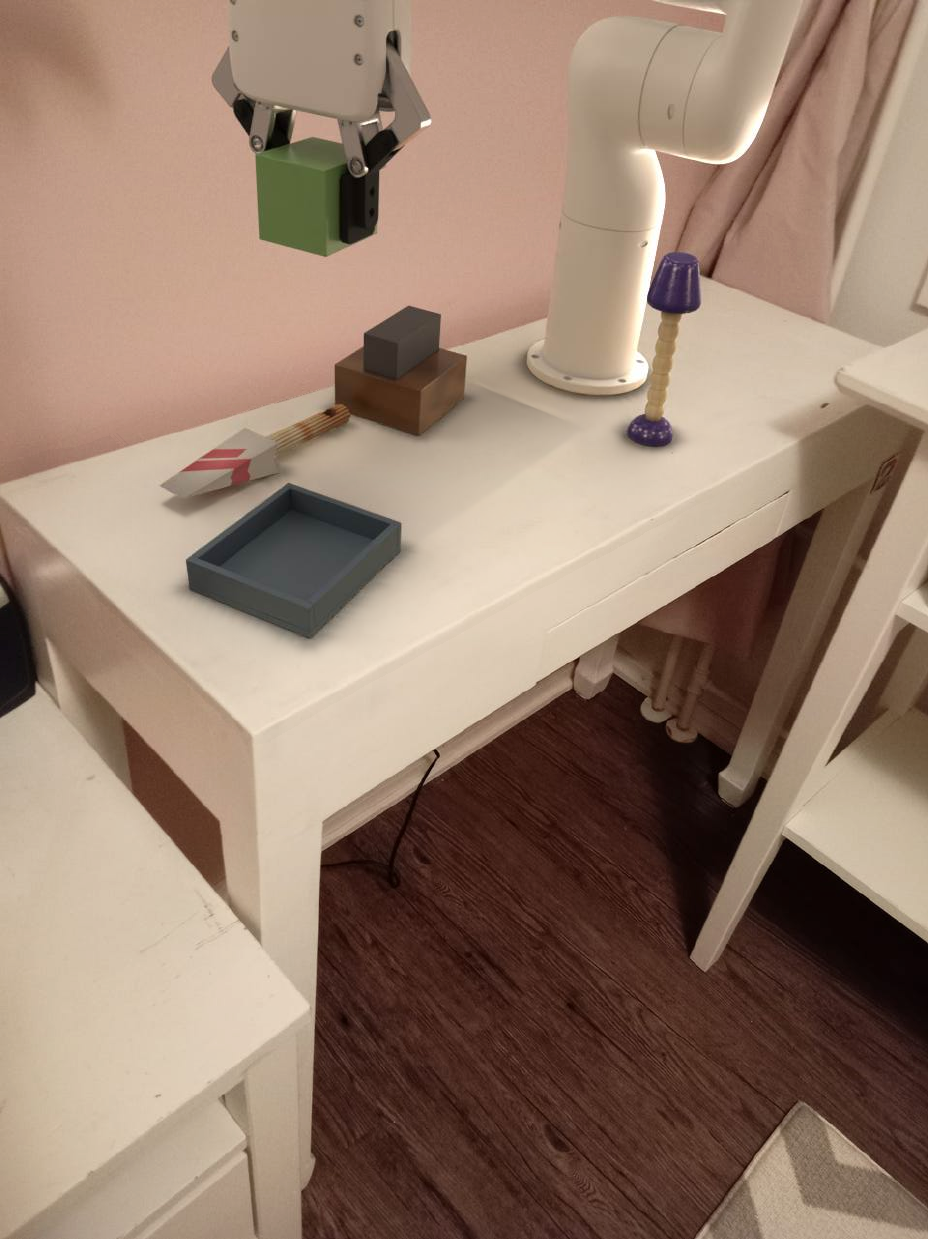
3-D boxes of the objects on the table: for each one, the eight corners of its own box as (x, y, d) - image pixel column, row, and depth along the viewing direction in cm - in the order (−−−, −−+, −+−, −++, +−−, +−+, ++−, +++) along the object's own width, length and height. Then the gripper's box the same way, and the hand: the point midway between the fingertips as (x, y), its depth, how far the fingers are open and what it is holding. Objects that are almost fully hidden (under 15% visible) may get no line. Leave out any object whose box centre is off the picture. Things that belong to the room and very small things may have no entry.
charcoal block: (407, 340, 94) (408, 305, 91) (439, 349, 93) (441, 314, 90) (363, 370, 88) (363, 333, 86) (396, 380, 87) (397, 343, 85)
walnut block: (384, 375, 98) (385, 332, 95) (463, 399, 95) (467, 355, 92) (334, 409, 91) (334, 364, 88) (418, 436, 88) (421, 390, 86)
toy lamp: (641, 451, 89) (679, 269, 79) (610, 428, 92) (643, 250, 82) (681, 441, 91) (724, 262, 81) (649, 419, 94) (687, 244, 84)
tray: (289, 510, 78) (288, 482, 76) (400, 551, 74) (401, 522, 73) (189, 589, 69) (185, 559, 67) (310, 639, 66) (309, 609, 64)
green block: (313, 217, 65) (312, 136, 62) (377, 233, 64) (379, 151, 61) (259, 239, 61) (254, 153, 58) (326, 257, 60) (325, 170, 56)
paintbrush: (152, 466, 75) (328, 392, 89) (155, 497, 77) (327, 420, 91) (186, 483, 74) (360, 406, 87) (188, 515, 75) (359, 434, 89)
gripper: (492, -112, 51) (464, 243, 62) (228, -144, 56) (246, 189, 68) (422, -114, 45) (405, 276, 57) (137, -149, 51) (174, 213, 62)
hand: (319, 225), depth 62 cm, fingers closed on green block, 5 cm apart
